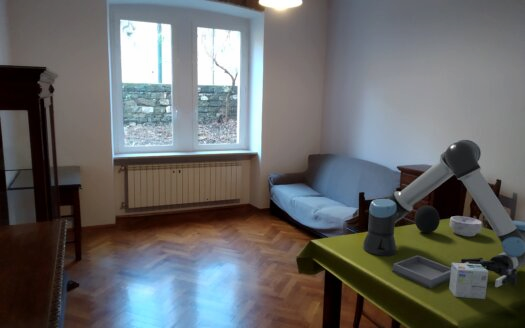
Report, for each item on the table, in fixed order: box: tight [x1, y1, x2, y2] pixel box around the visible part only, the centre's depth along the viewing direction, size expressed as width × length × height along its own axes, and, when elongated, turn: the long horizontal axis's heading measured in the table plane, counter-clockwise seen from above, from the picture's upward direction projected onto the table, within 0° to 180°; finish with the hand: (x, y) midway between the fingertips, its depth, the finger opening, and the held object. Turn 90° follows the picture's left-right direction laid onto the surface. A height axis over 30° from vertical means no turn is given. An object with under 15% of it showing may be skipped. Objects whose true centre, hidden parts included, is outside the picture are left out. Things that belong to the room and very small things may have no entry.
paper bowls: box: [449, 215, 483, 238], centre depth 209 cm, size 15×15×8 cm
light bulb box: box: [448, 262, 489, 300], centre depth 142 cm, size 11×7×11 cm, turn 84°
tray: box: [392, 254, 451, 289], centre depth 158 cm, size 17×17×4 cm
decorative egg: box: [414, 204, 441, 234], centre depth 208 cm, size 12×12×15 cm
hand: (477, 276), depth 145 cm, fingers open, 13 cm apart
